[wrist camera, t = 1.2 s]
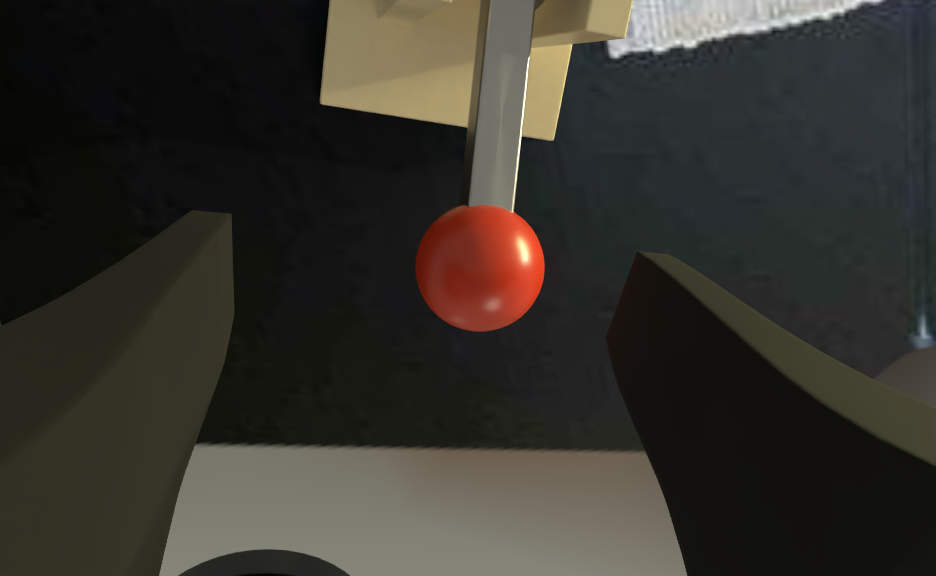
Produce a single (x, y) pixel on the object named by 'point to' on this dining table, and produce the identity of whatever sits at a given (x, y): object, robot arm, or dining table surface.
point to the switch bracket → (450, 56)
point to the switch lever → (488, 190)
